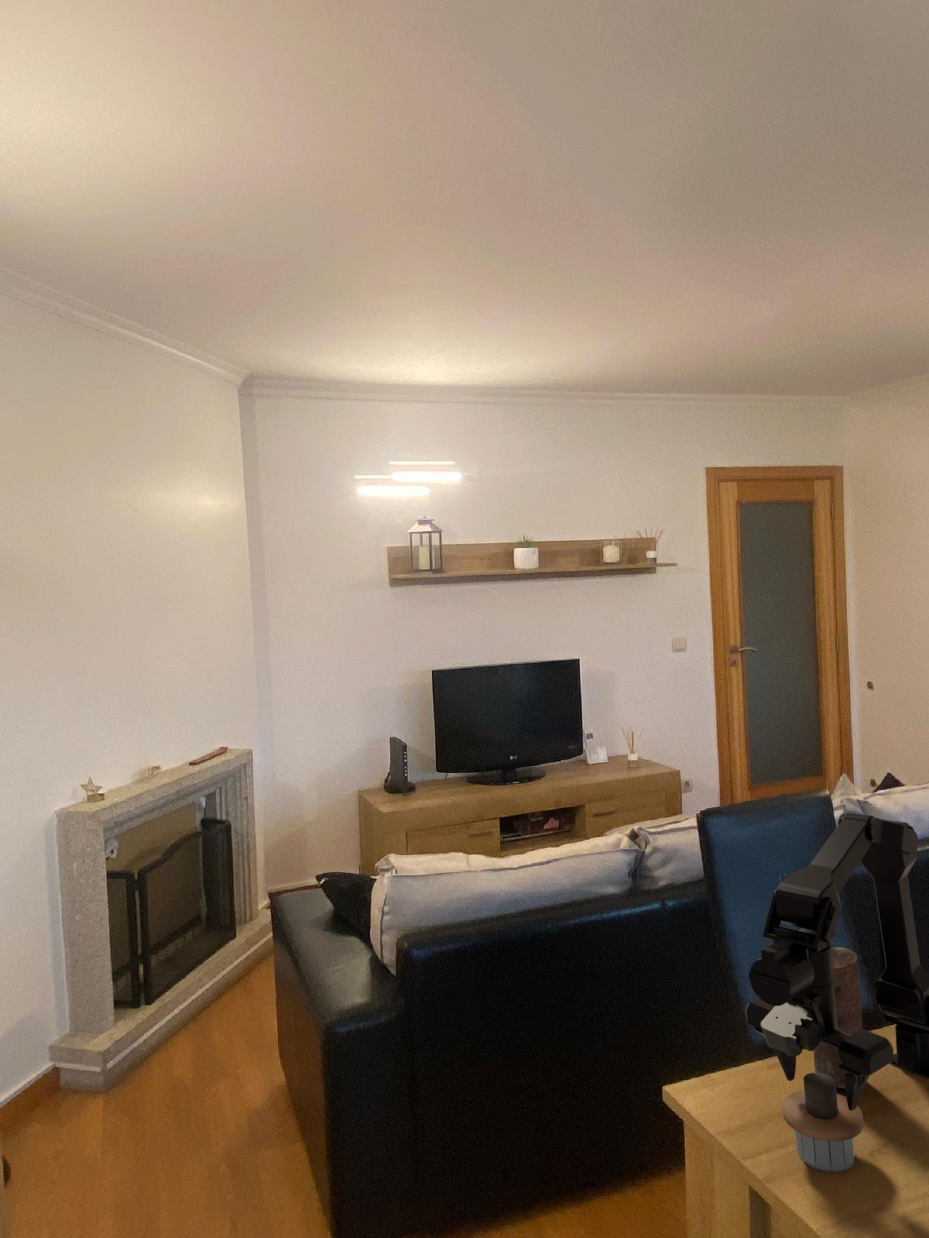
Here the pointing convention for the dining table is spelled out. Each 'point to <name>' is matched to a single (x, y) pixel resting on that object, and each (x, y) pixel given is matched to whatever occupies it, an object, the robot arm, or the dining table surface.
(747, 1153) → the dining table surface
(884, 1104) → the dining table surface
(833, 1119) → the lid
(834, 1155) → the pot
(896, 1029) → the robot arm
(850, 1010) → the candle
